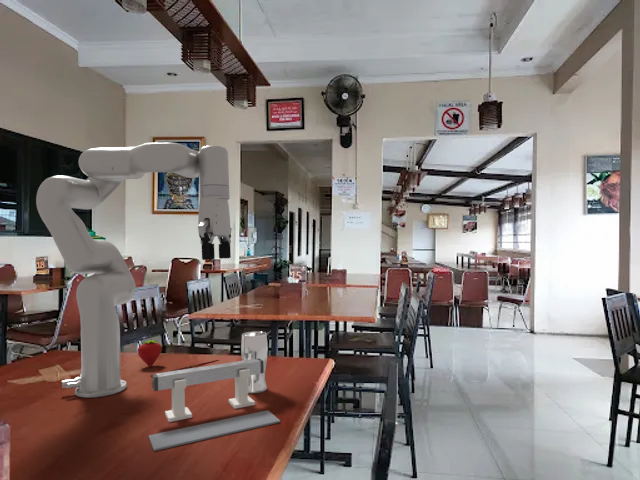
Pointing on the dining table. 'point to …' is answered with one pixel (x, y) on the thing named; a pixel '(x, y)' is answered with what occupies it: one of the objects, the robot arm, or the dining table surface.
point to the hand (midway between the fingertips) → (216, 258)
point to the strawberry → (149, 351)
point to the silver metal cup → (254, 349)
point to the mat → (211, 430)
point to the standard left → (178, 403)
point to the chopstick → (192, 366)
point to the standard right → (242, 391)
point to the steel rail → (206, 373)
